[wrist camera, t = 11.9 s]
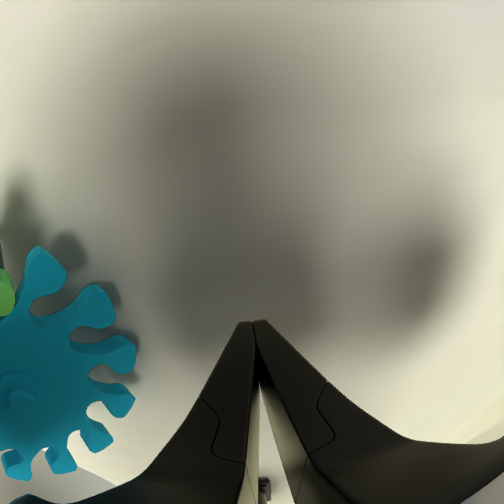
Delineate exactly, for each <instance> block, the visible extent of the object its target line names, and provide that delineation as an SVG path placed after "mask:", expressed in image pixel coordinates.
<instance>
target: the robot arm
mask: <svg viewBox="0 0 504 504" xmlns="http://www.w3.org/2000/svg"><path fill="white" fill-rule="evenodd" d="M259 384H260V389H261V393H262V397H263V400H264V404H265V407H266V411H267V414H268V418H269V421H270V424H271V428H272V431H273V435H274V438H275V441H276V445H277V448H278V451H279V455H280V458H281V461H282V464H283V468H284V471H285V474H286V477H287V481H288V484H289V487H290V490H291V493H292V496H293V499H294V503H295V504H504V436H503V437H501V438H500V439H498V440H496V441H493V442H490V443H484V444H451V443H436V442H425V441H416V440H412V439H409V438H406V437H404V436H402V435H400V434H398V433H396V432H395V431H393V430H392V429H390V428H389V427H387V426H386V425H384V424H383V423H381V422H380V421H378V420H377V419H375V418H374V417H372V416H371V415H369V414H368V413H366V412H365V411H364V410H362V409H361V408H359V407H358V406H357V405H355V404H354V403H353V402H351V401H350V400H349V399H348V398H346V397H345V396H344V395H343V394H342V393H341V392H340V391H339V390H337V389H336V388H335V387H334V386H333V385H332V384H331V383H330V382H327V379H326V378H325V377H324V376H323V375H322V374H320V373H319V372H318V371H317V370H316V369H315V368H314V367H313V366H312V365H311V364H310V363H309V362H308V361H307V360H306V359H305V358H304V357H303V356H302V355H301V354H300V353H299V352H298V351H297V350H296V349H295V348H294V347H293V346H292V345H291V344H290V343H289V342H288V341H287V340H286V339H285V338H284V337H283V336H282V335H281V334H280V333H279V332H278V331H277V330H276V329H275V328H274V327H273V326H272V325H271V324H270V323H269V322H268V321H267V320H265V319H263V320H254V321H253V323H252V322H251V321H244V322H239V323H238V324H237V326H236V328H235V330H234V332H233V334H232V336H231V338H230V339H229V341H228V343H227V345H226V347H225V349H224V351H223V352H222V354H221V356H220V358H219V360H218V362H217V364H216V365H215V367H214V369H213V371H212V373H211V375H210V377H209V378H208V380H207V382H206V384H205V386H204V388H203V389H202V391H201V393H200V395H199V397H198V398H197V400H196V402H195V404H194V406H193V407H192V409H191V411H190V412H189V414H188V415H187V417H186V419H185V420H184V422H183V423H182V425H181V426H180V427H179V429H178V430H177V431H176V433H175V434H174V435H173V437H172V438H171V439H170V440H169V442H168V443H167V444H166V446H165V447H164V448H163V449H162V451H161V452H160V453H159V454H158V456H157V457H156V458H155V459H154V461H153V462H152V463H151V464H150V465H149V467H148V468H147V469H146V470H145V471H144V472H142V473H141V474H140V475H139V476H137V477H136V478H134V479H132V480H131V481H128V482H126V483H124V484H122V485H119V486H117V487H115V488H113V489H110V490H107V491H105V492H103V493H100V494H97V495H95V496H93V497H90V498H87V499H84V500H81V501H78V502H74V503H69V504H267V501H270V500H271V489H270V480H266V479H265V480H258V466H259V403H260V389H259ZM9 504H56V503H52V502H49V501H46V500H44V499H41V498H39V497H37V496H34V495H31V494H26V495H24V496H21V497H19V498H17V499H15V500H13V501H12V502H10V503H9Z"/></svg>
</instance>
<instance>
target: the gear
mask: <svg viewBox="0 0 504 504" xmlns="http://www.w3.org/2000/svg"><path fill="white" fill-rule="evenodd" d="M66 279H67V273H66V271H65V270H64V268H63V267H62V266H61V264H60V263H59V262H58V261H57V260H56V259H55V257H54V256H53V255H51V254H50V253H49V252H47V251H46V250H44V249H43V248H41V247H40V246H36V247H34V248H33V249H32V250H31V251H30V252H29V254H28V255H27V258H26V261H25V269H24V274H23V278H22V281H21V283H20V286H19V288H18V289H17V291H16V293H15V294H14V290H13V285H12V280H11V277H10V275H9V274H8V273H7V272H6V271H5V270H4V264H3V258H2V251H1V243H0V451H3V450H6V449H14V450H11V451H8V452H5V453H4V454H2V456H1V461H2V463H3V467H4V469H5V473H6V475H7V476H9V477H11V478H14V479H18V480H23V481H29V480H30V479H31V478H32V472H31V467H30V466H31V462H32V459H33V458H34V457H35V455H36V454H37V453H38V452H39V451H40V450H41V449H43V448H46V447H49V448H48V449H47V451H46V452H45V458H46V460H47V462H48V464H49V466H50V468H51V470H52V471H53V473H55V474H64V473H69V472H72V471H76V469H77V464H76V462H75V461H74V459H73V457H72V456H71V454H70V452H69V451H68V449H67V441H68V437H69V435H70V434H71V433H72V432H73V431H76V430H80V436H81V437H82V439H83V441H84V442H85V444H86V445H87V447H88V449H89V450H90V451H91V452H93V453H97V452H99V451H101V450H103V449H105V448H106V447H107V446H109V445H110V444H111V443H112V442H113V438H112V436H111V435H110V434H109V432H108V431H107V429H106V428H105V427H104V425H103V424H101V423H100V422H96V421H94V420H92V419H90V418H89V417H87V414H86V410H87V407H88V406H89V405H90V404H91V403H93V402H95V401H102V402H103V404H104V405H105V406H106V408H107V409H108V410H109V412H110V413H111V414H112V415H113V416H114V417H117V418H122V417H124V416H125V415H126V414H127V413H128V412H129V410H130V409H131V407H132V405H133V403H134V401H135V397H134V396H133V395H132V394H131V393H130V392H129V390H128V389H127V388H126V387H125V386H124V385H123V384H120V383H112V384H105V383H100V382H97V381H95V380H93V379H91V378H90V377H88V374H89V371H90V370H91V369H92V368H93V367H94V366H96V365H98V364H105V365H108V366H109V367H110V368H111V369H113V370H114V371H115V372H117V373H119V374H127V373H129V372H131V371H133V368H134V365H135V361H136V346H135V345H134V344H133V343H132V342H131V341H130V340H129V339H128V338H126V337H125V336H123V335H114V336H111V337H110V338H108V339H106V340H104V341H102V342H98V343H94V344H83V343H77V342H72V341H69V337H70V334H71V333H72V331H73V330H74V329H76V328H77V327H80V326H88V327H92V328H97V329H103V328H106V327H108V326H110V325H111V324H112V323H113V322H114V321H115V320H116V316H115V310H114V307H113V305H112V302H111V300H110V299H109V297H108V295H107V293H106V292H105V291H104V290H103V289H102V288H101V287H100V286H99V285H98V284H91V285H88V286H86V287H85V288H83V289H82V290H81V292H80V293H79V295H78V296H77V298H76V299H75V300H74V301H73V302H72V303H71V304H70V305H68V306H67V307H66V308H64V309H62V310H61V311H59V312H56V313H53V314H50V315H46V316H42V317H37V316H34V315H32V314H31V313H30V312H29V309H30V306H31V303H32V302H33V301H34V300H35V299H37V298H39V297H42V296H46V295H50V294H53V293H56V292H57V291H59V290H60V289H61V288H62V287H63V285H64V283H65V281H66Z"/></svg>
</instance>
